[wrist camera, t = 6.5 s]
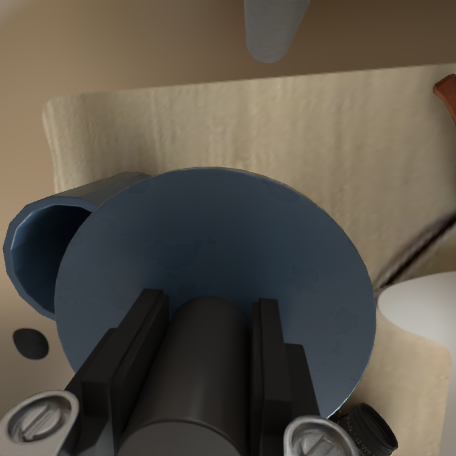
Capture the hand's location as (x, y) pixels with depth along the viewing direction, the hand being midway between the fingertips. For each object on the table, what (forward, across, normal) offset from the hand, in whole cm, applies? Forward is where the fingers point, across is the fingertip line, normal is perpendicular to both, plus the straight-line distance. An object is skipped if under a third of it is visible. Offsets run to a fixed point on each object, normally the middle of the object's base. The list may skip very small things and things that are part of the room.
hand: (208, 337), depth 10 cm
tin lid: (+1, 0, 0) cm, 1 cm away
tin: (+25, +11, +3) cm, 27 cm away
